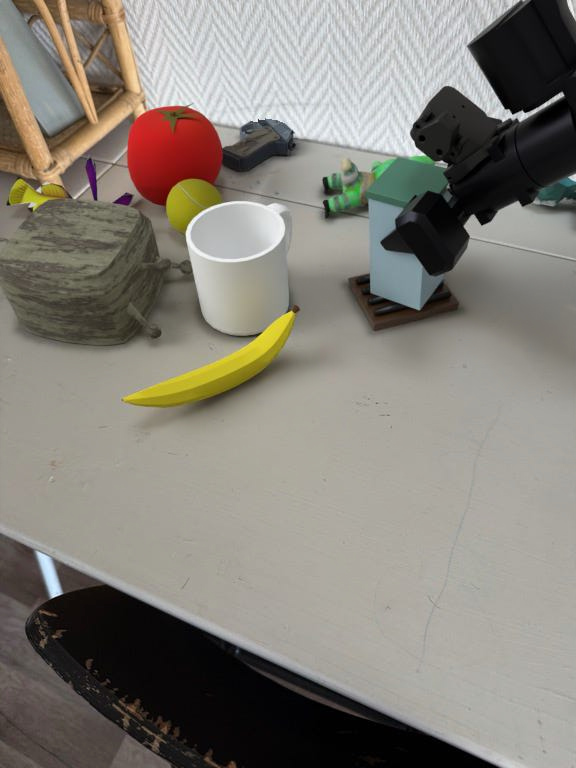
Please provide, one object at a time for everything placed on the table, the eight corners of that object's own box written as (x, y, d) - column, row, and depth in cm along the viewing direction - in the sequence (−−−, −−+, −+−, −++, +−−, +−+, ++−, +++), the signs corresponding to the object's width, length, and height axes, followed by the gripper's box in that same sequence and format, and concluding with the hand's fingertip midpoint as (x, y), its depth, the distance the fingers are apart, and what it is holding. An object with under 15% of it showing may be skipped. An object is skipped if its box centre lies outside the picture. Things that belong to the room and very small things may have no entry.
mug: (245, 351, 63) (234, 276, 55) (183, 309, 67) (165, 234, 59) (321, 289, 68) (322, 213, 60) (259, 254, 73) (252, 179, 65)
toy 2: (327, 237, 77) (444, 219, 75) (317, 188, 72) (444, 167, 69) (326, 193, 84) (434, 175, 81) (317, 144, 78) (433, 123, 76)
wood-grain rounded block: (201, 269, 72) (16, 245, 76) (189, 205, 65) (-14, 182, 69) (158, 356, 63) (-48, 323, 67) (139, 293, 56) (-90, 260, 60)
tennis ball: (225, 247, 76) (199, 222, 80) (239, 196, 72) (211, 171, 76) (177, 247, 72) (152, 220, 76) (189, 192, 68) (162, 167, 72)
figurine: (573, 156, 80) (519, 148, 80) (609, 129, 71) (548, 120, 71) (559, 244, 81) (505, 236, 81) (594, 228, 72) (533, 220, 72)
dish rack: (426, 265, 71) (428, 253, 69) (457, 309, 66) (460, 297, 64) (347, 284, 69) (348, 272, 68) (373, 331, 64) (375, 319, 63)
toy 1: (168, 205, 80) (142, 274, 80) (52, 170, 85) (27, 236, 84) (127, 164, 69) (96, 244, 68) (-5, 127, 73) (-34, 202, 73)
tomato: (114, 202, 81) (89, 121, 72) (181, 157, 88) (166, 77, 79) (181, 232, 76) (162, 149, 67) (246, 181, 83) (238, 100, 74)
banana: (129, 420, 58) (111, 379, 53) (292, 340, 64) (290, 296, 59) (140, 441, 56) (123, 400, 51) (307, 357, 62) (306, 313, 57)
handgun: (196, 135, 93) (265, 114, 96) (230, 177, 85) (305, 153, 87) (193, 119, 91) (263, 99, 94) (228, 161, 83) (304, 137, 86)
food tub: (447, 276, 66) (458, 170, 56) (420, 312, 63) (427, 207, 53) (395, 260, 68) (397, 156, 58) (367, 293, 65) (365, 190, 55)
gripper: (523, 24, 51) (393, 120, 63) (434, 119, 41) (302, 210, 54) (585, 134, 54) (450, 204, 67) (517, 246, 44) (374, 304, 57)
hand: (398, 226), depth 61 cm, fingers closed on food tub, 7 cm apart
